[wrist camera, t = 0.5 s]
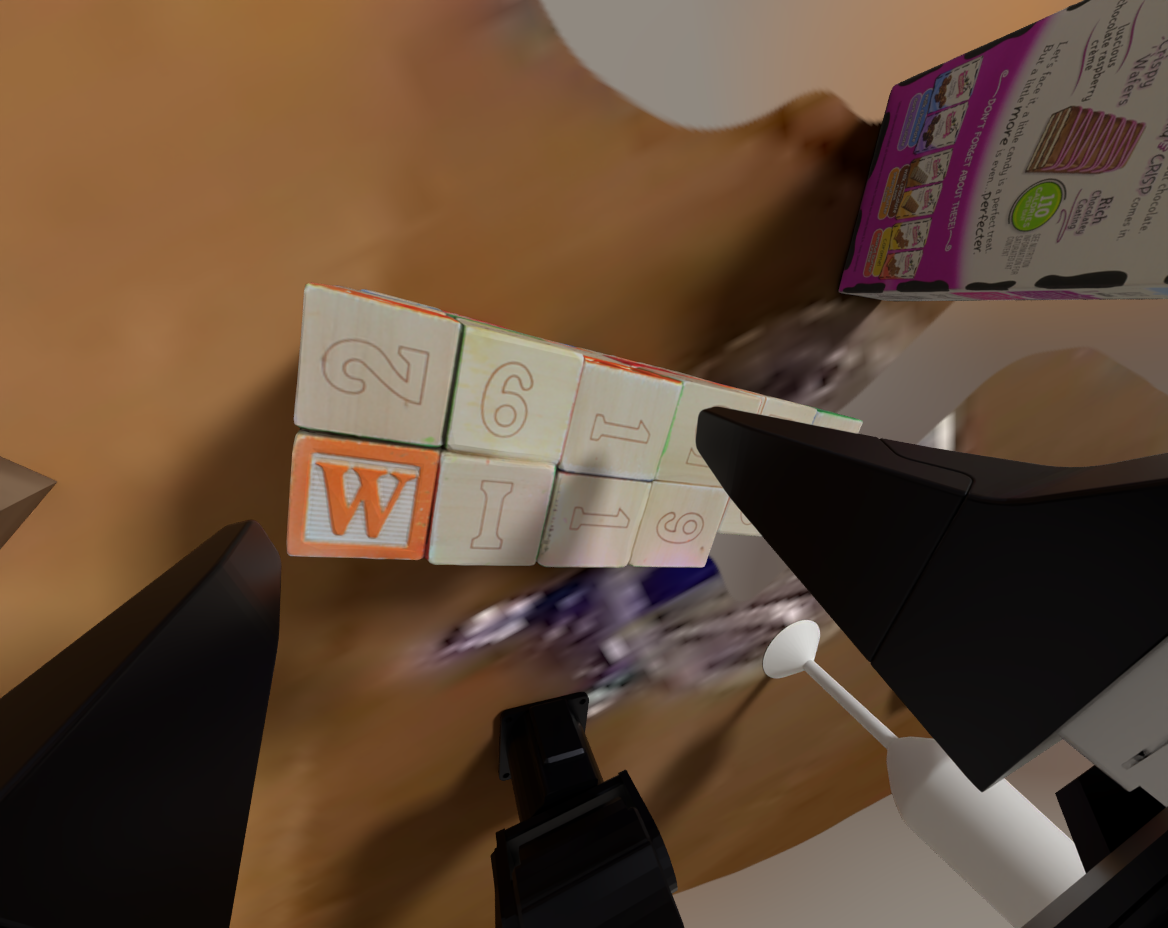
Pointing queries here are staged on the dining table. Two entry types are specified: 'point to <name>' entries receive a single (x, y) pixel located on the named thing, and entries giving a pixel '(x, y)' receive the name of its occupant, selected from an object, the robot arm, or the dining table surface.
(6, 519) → the silver metal block
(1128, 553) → the robot arm
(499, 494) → the stack of blocks
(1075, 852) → the champagne flute
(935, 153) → the candy bar box
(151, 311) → the dining table surface
